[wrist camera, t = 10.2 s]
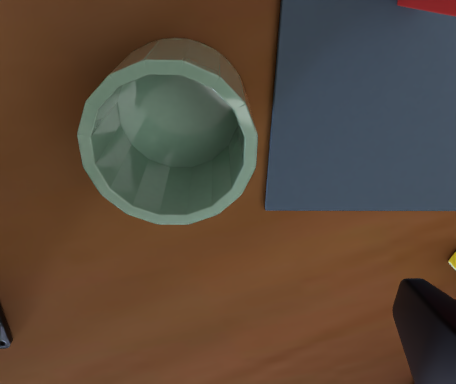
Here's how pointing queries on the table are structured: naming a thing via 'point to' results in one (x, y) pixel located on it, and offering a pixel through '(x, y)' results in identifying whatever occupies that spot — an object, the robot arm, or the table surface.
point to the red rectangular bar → (431, 6)
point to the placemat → (363, 108)
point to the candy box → (453, 261)
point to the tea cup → (170, 133)
